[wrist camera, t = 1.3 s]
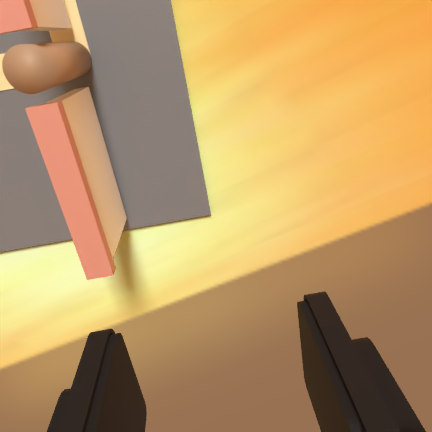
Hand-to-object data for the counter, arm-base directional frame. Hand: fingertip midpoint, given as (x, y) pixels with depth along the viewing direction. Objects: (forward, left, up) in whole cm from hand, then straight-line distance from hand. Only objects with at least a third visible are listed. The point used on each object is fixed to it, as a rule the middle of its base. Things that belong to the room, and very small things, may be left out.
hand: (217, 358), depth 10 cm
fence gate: (+7, -1, -21) cm, 22 cm away
